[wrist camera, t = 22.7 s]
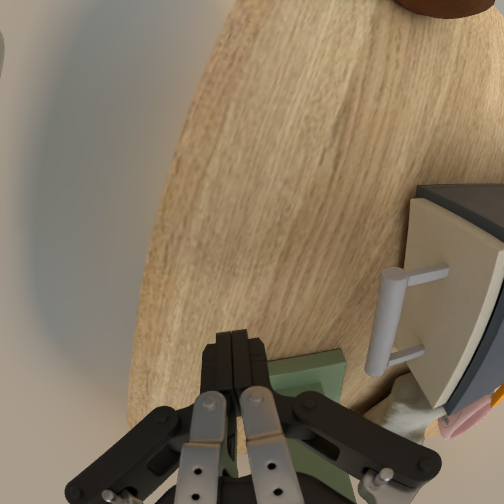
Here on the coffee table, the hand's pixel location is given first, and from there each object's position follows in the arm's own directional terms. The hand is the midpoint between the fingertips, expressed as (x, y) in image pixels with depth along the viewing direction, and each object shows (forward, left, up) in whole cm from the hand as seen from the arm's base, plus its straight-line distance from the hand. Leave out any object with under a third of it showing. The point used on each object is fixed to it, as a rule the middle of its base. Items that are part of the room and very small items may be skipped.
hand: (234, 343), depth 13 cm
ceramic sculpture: (+14, -19, -5) cm, 24 cm away
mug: (+29, -27, -5) cm, 40 cm away
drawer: (+16, -1, -4) cm, 17 cm away
